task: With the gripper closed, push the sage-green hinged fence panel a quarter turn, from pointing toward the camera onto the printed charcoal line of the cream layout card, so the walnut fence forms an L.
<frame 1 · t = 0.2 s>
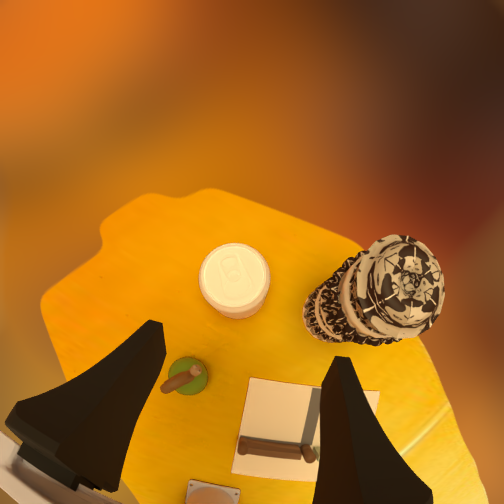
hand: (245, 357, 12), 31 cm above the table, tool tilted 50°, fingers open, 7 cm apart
snail figurine: (194, 372, 41), on the table
fence gate: (344, 454, 35), point 3 cm above the table, hinge at -90.0°
beverage can: (238, 292, 44), on the table
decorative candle: (329, 314, 43), on the table
layout card: (307, 435, 38), on the table
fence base: (305, 448, 37), resting on layout card
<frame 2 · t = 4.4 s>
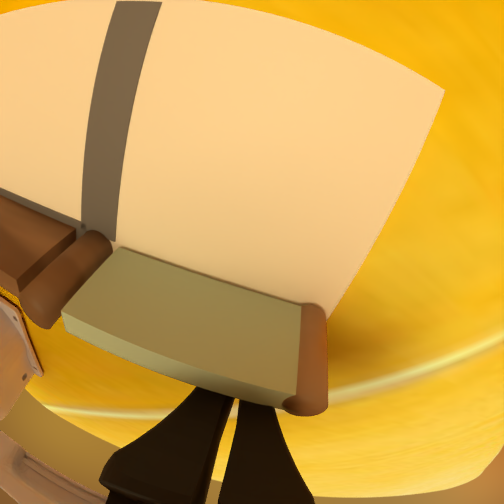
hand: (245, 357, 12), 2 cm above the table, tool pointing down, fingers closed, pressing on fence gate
fence gate: (204, 327, 10), point 3 cm above the table, hinge at -87.5°, touching gripper
layout card: (105, 199, 11), on the table
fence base: (97, 246, 12), resting on layout card
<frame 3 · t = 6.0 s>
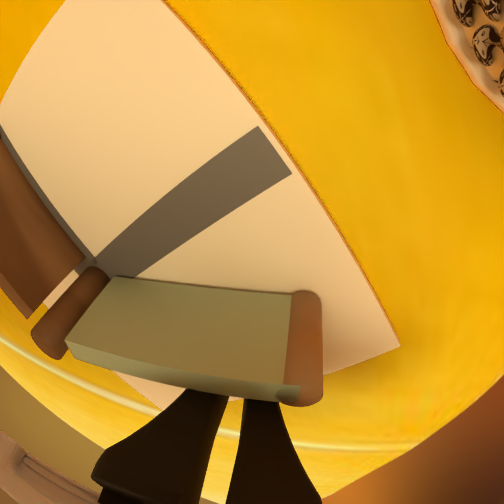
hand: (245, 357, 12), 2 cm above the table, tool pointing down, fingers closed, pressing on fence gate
fence gate: (195, 333, 10), point 3 cm above the table, hinge at -35.8°, touching gripper
layout card: (126, 255, 12), on the table
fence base: (98, 279, 13), resting on layout card
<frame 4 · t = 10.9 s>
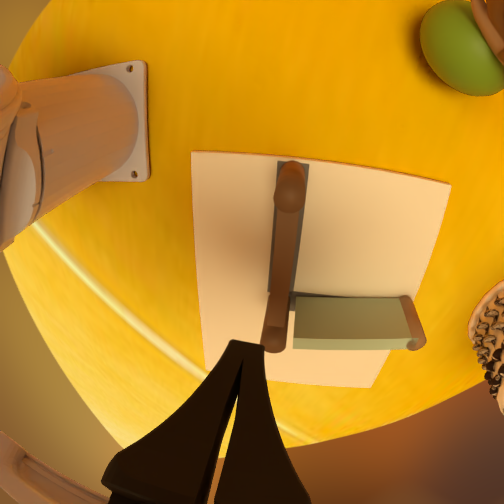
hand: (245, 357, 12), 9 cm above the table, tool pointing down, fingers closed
snail figurine: (450, 57, 12), on the table
fence gate: (359, 322, 19), point 3 cm above the table, hinge at 5.6°
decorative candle: (502, 311, 20), on the table
layout card: (307, 298, 22), on the table
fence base: (279, 299, 21), resting on layout card
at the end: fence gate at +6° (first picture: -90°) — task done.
